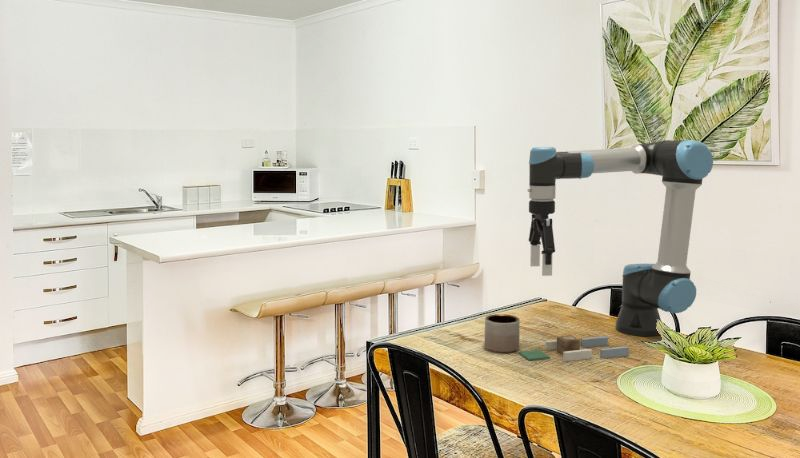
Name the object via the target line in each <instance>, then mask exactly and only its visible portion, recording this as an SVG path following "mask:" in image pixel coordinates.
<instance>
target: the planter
mask: <svg viewBox="0 0 800 458" xmlns="http://www.w3.org/2000/svg"><path fill="white" fill-rule="evenodd" d="M520 321H521V320H520V318H519V317H517V316H516V315H511V314H505V313H504V314H502V313H500V314H499V313H497V314H490V315H487V316H485V318H484V342H483V343H484V344H483V345H484V347H485V349H487V350H488V351H491V352H493V353H498V354H507V353H508V354H509V353H513V352H516V351H518V350H519V349H520V323H521V322H520Z"/></svg>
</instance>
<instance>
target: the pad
mask: <svg viewBox="0 0 800 458" xmlns="http://www.w3.org/2000/svg"><path fill="white" fill-rule="evenodd" d="M517 354H518V355H519V356H521V357H522V358H524V359H525V360H527V361H531V362H532V361H533V362H534V361H539V360H540V361H541V360H542V361H543V360H550V359H551V356H550V355H548V354H546V352H543V351H542V350H540V349H532V350H521V351H518V353H517Z"/></svg>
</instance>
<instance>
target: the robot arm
mask: <svg viewBox="0 0 800 458" xmlns="http://www.w3.org/2000/svg"><path fill="white" fill-rule="evenodd" d="M528 164H529V166H528V167H529V170H528V171H529V177H528V178H529V186H528V187H529V188H527V192H528V193H529V194H528V195H529V196H528V197H529V199H530V200H529V201H528V212H529V213H530V214H531V224H530V227H529V228H530V229H529V234H528V235H529V237H528V242H529V244H530V267H540V266H541V276H543V277H548V276H550V277H551V276H553V254H554V253H555V252H556V247H555V246H556V245H555V237H554V230H553V229H554V228H553V219H552V218H549V215H552V214H555V212H556V202H555V200H554V199H556V185H557V184H556V180H563V179H564V180H565V179H567V180H569V179H574V180H575V179H579V180H581V179H586V178H590V177H591V176H592V175H593V174H607V173H621V172H632V173H633V174H638V175H639V174H640V175H641V174H644V175H645V174H646V175H654V176H655V175H656V176H661V177H662V180H661V182H662V185H664V186H665V196H664V204H663V205H664V206H663V211H662V213H663V214H662V219H661V221H662V223H661V229H660V237H659V245H658V254H657V261H656V263H630V264H629V263H628V264H627V265H625V266H624V267H623V272H622V289H621V290H622V291H621V294H622V295H621V307H620V310H619V313H618V315H617V318H616V320H615V328H614V329H615V330H616V331H618V332H619V333H622V334H625V335H630V336H635V337H655V336H660V335H659V333H658V331H657V329H656V319H659V320H660V321H661V322H662V320H661V316H660V313H659V309H660V310H661V311H664V312H668V313H671V314H680V313H683V312H685V311H686V310H688V308H690V307H691V306H692V305H693V303H694V302H695V300H696V296H697V287H696V285H695V284H694V282H693V281H692V280H691V274H692V273H691V270H690V269H689V267H688V265H687V263H688V253H689V246H690V240H691V237H690V236H691V229H692V222H693V213H694V207H695V200H696V199H695V198H696V191H697V190H698V189H699V188H700V187H702V185H703V179H705V178H706V177H707V176H708V175H709V174H710V173H711V171H712V169H713V165H714V158H713V153H712V150H711V149H709V147H708V146H707V145H706V144H705V143H703V142H702V141H699V140H691V139H684V140H683V139H682V140H681V139H680V140H677V139H676V140H671V139H670V140H669V139H668V140H667V139H665V140H658V141H653V142H647V143H640V144H634V145H632V146H631V147H625V148H624V147H621V148H604V149H602V148H601V149H588V150H586V149H584V150H570V151H569V150H567V151H566V150H565V151H557V148H556V147H554V146H535V147H531V149H530V152H529V162H528ZM541 245H542V250H541ZM541 256H542V258H541ZM541 261H542V262H541ZM540 262H541V264H542V265H540Z"/></svg>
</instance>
